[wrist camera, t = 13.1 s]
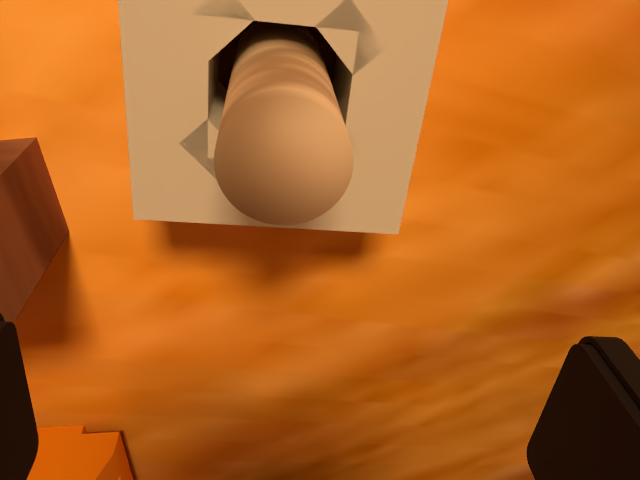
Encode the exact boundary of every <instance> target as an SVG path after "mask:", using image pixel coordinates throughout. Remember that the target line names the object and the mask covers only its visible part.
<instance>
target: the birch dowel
mask: <svg viewBox="0 0 640 480" xmlns="http://www.w3.org/2000/svg"><path fill="white" fill-rule="evenodd" d="M353 165H354V157H353V149H352V145H351V142H350V138H349V135H348V132H347V129H346V126H345V123H344V120H343V117H342V114H341V111H340V108H339V105H338V102H337V99H336V96H335V93H334V90H333V87H332V84H331V81H330V78H329V75H328V72H327V69H326V65H325V62H324V59H323V56H322V53H321V50H320V47H319V45H318V43H317V41H316V39H315V37H314V36H313V34H312V33H311V32H310V31H309V30H308V29H307V28H306V27H305V26H301V25H292V24H282V23H272V22H262V21H259V22H257V23H255V24H254V25H252V26H251V27H250V28H249V29H248V30H247V31H246V32H245V33H244V34H243V36H242V37H241V39H240V41H239V43H238V46H237V49H236V53H235V58H234V63H233V67H232V72H231V77H230V81H229V86H228V91H227V95H226V100H225V105H224V109H223V114H222V119H221V123H220V128H219V133H218V137H217V142H216V146H215V151H214V170H215V175H216V179H217V182H218V184H219V186H220V188H221V190H222V192H223V194H224V195H225V197H226V198H227V199H228V201H229V202H230V203H231V204H232V205H233V206H234V207H235V208H237V209H238V210H239V211H240V212H242V213H243V214H245V215H246V216H248V217H250V218H252V219H254V220H257V221H260V222H263V223H267V224H272V225H296V224H300V223H305V222H308V221H310V220H313V219H315V218H317V217H319V216H321V215H323V214H324V213H326V212H327V211H328V210H330V209H331V208H332V207H333V206H334V205H335V204H336V203H337V202H338V201H339V200H340V199H341V197H342V196H343V194H344V193H345V191H346V189H347V187H348V185H349V183H350V180H351V177H352V173H353Z"/></svg>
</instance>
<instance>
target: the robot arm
mask: <svg viewBox="0 0 640 480" xmlns="http://www.w3.org/2000/svg"><path fill="white" fill-rule="evenodd" d="M38 446H39V437H38V431H37V427H36V422H35V417H34V412H33V408H32V403H31V398H30V393H29V389H28V384H27V379H26V374H25V370H24V365H23V360H22V355H21V351H20V346H19V341H18V336H17V332H16V328H15V325H14V324H13V322H6V321H5V320H4V317H3V316H2V314H1V313H0V480H27V478H28V475H29V473H30V471H31V468H32V466H33V464H34V462H35V459H36V456H37V452H38ZM527 460H528V464H529V467H530V469H531V471H532V474H533V476H534V478H535V480H640V360H639V359H638V357H637V356H636V355H635V354H634V352H633V351H632V350H631V349H630V347H629V346H628V345H627V344H626V343H625V342H624V341H623V340H622V339H620V338H617V337H593V336H587V337H584V338H582V339H581V340H580V342H579V343H578V344H575V345H573V346H572V347H571V348H570V350H569V352H568V355H567V357H566V359H565V361H564V364H563V366H562V368H561V371H560V373H559V375H558V377H557V380H556V382H555V384H554V386H553V389H552V391H551V393H550V396H549V398H548V400H547V402H546V405H545V407H544V409H543V411H542V414H541V416H540V418H539V421H538V423H537V425H536V427H535V430H534V432H533V434H532V436H531V439H530V441H529V443H528V447H527Z"/></svg>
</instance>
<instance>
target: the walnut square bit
mask: <svg viewBox="0 0 640 480" xmlns="http://www.w3.org/2000/svg"><path fill="white" fill-rule="evenodd" d="M68 232H69V229H68V226H67V224H66V221H65V218H64V215H63V212H62V209H61V206H60V204H59V201H58V198H57V195H56V192H55V189H54V186H53V184H52V181H51V178H50V175H49V172H48V169H47V166H46V163H45V161H44V158H43V155H42V152H41V149H40V146H39V143H38V141H37V138H25V139H13V140H1V141H0V313H1V314H2V316H3V317H4V320H5V321H6V322H13V324H14V323H15V321H16V319H17V318H18V316H19V314H20V313H21V311H22V309H23V308H24V306H25V304H26V303H27V301H28V299H29V297H30V296H31V294H32V292H33V291H34V289H35V287H36V286H37V284H38V282H39V281H40V279H41V277H42V276H43V274H44V272H45V271H46V269H47V267H48V266H49V264H50V262H51V261H52V259H53V257H54V256H55V254H56V252H57V251H58V249H59V247H60V246H61V244H62V242H63V241H64V239H65V237H66V236H67V234H68Z"/></svg>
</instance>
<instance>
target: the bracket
mask: <svg viewBox="0 0 640 480" xmlns="http://www.w3.org/2000/svg"><path fill="white" fill-rule="evenodd" d="M37 431H38V437H39V446H38V452H37V456H36V459H35V462H34V464H33V466H32V468H31V471H30V473H29V475H28V478H27V480H133V476H132V473H131V470H130V466H129V463H128V459H127V456H126V452H125V449H124V445H123V442H122V438H121V435H120V432H106V433H90V434H87V432H86V429H85V426H84V425H77V426H61V427H45V428H37Z"/></svg>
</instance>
